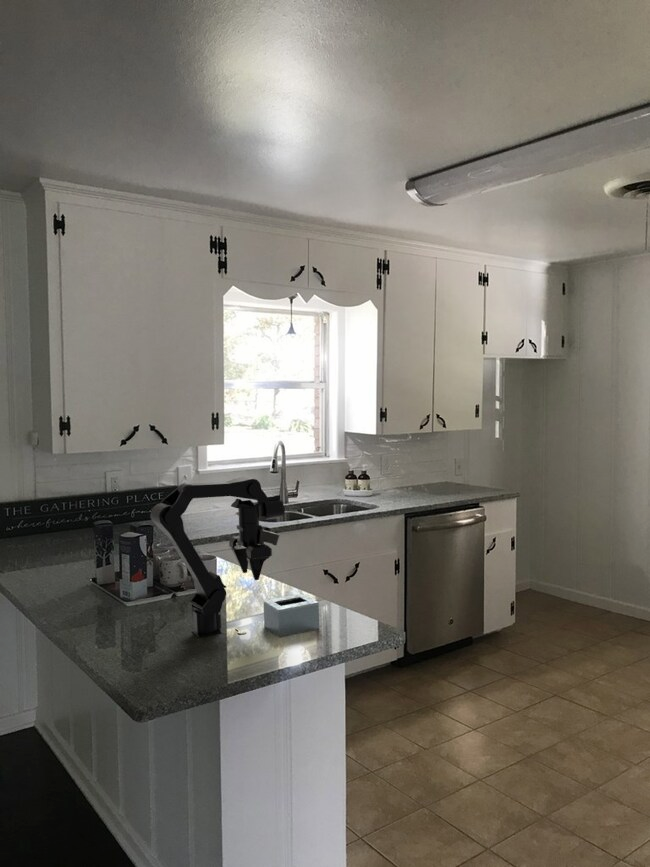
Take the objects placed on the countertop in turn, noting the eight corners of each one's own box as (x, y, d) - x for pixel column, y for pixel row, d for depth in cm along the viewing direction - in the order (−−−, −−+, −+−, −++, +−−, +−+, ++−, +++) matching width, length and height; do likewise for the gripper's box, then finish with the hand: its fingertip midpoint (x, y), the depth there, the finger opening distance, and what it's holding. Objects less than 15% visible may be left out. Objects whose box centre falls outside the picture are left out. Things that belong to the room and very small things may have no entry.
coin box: (279, 637, 195) (278, 610, 195) (264, 626, 204) (263, 600, 203) (319, 628, 201) (318, 602, 200) (303, 618, 210) (302, 593, 209)
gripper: (288, 524, 203) (290, 579, 204) (263, 514, 219) (264, 565, 220) (250, 528, 198) (252, 585, 199) (227, 518, 214) (229, 570, 215)
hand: (250, 576), depth 208 cm, fingers open, 9 cm apart
